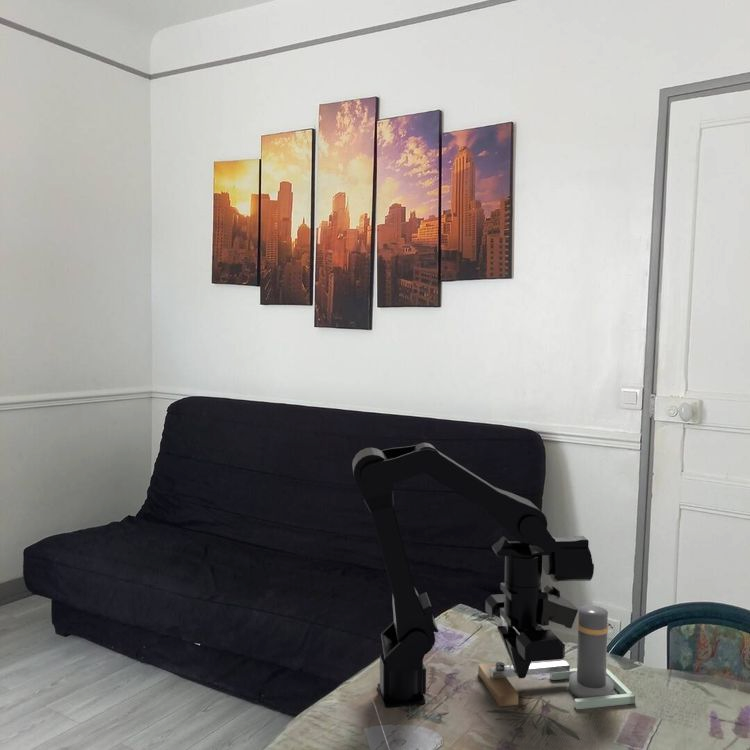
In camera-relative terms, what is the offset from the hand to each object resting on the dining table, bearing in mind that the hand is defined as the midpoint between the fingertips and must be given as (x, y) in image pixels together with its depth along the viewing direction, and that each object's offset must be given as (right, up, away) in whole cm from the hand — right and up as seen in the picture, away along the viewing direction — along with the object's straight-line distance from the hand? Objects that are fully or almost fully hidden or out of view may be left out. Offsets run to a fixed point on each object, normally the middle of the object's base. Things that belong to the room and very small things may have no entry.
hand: (521, 677), depth 111 cm
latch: (+2, 0, +2) cm, 3 cm away
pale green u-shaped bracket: (+11, -2, 0) cm, 11 cm away
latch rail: (-4, -2, +1) cm, 4 cm away
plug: (+11, -2, 0) cm, 11 cm away
